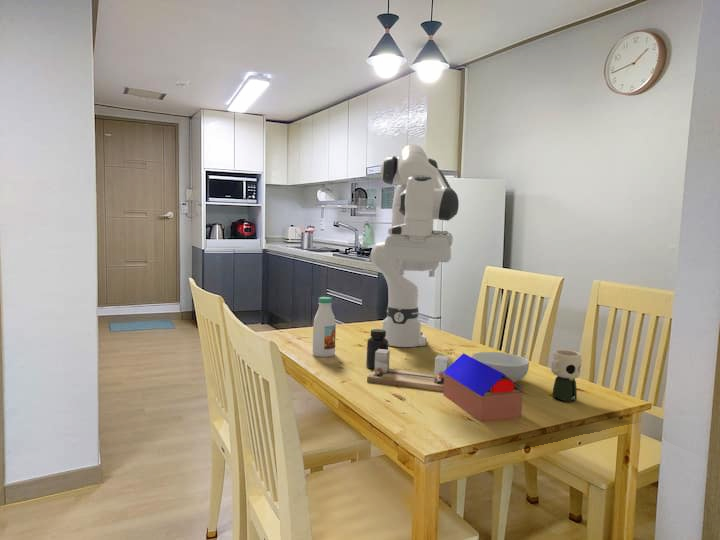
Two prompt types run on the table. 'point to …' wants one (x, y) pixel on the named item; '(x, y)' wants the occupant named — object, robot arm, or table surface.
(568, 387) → the character mug
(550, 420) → the table surface
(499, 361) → the cereal bowl
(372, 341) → the supplement bottle
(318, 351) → the milk bottle
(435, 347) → the table surface
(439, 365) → the block
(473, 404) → the house
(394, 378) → the board
